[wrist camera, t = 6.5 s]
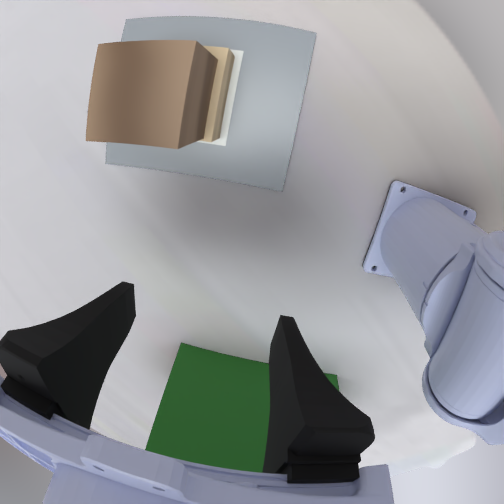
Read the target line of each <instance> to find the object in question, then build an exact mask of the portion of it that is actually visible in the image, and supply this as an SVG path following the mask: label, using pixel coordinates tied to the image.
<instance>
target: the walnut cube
mask: <svg viewBox="0 0 504 504" xmlns="http://www.w3.org/2000/svg"><path fill="white" fill-rule="evenodd" d="M217 63H218V59H217V58H216V57H215V56H214V55H212V54H211V53H210V52H209V51H208V50H207V49H206V48H204V47H203V46H202V45H201V44H200V43H199V42H198V41H193V40H141V41H125V42H113V43H104V44H98V49H97V54H96V59H95V65H94V70H93V77H92V83H91V90H90V98H89V107H88V117H87V129H86V141H96V142H111V143H124V144H135V145H145V146H154V147H163V148H171V149H180V148H182V147H184V146H187V145H189V144H192V143H194V142H196V141H199V140H201V139H204V134H205V127H206V121H207V116H208V110H209V104H210V99H211V93H212V88H213V83H214V77H215V72H216V67H217Z"/></svg>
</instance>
